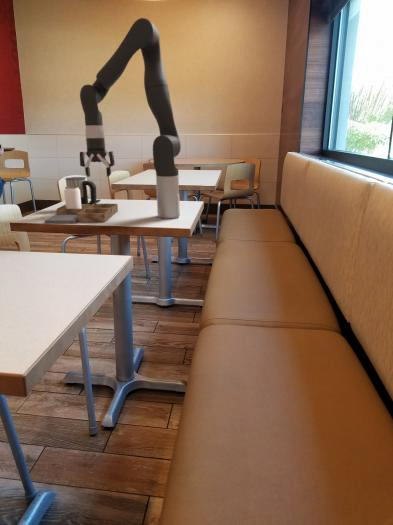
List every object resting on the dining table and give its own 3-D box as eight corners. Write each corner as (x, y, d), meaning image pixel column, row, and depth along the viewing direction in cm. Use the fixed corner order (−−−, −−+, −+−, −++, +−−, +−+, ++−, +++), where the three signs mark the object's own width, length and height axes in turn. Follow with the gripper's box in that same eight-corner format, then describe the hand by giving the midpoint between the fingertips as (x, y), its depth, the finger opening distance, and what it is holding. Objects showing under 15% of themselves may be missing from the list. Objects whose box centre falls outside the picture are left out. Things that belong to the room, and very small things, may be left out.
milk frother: (66, 212, 185) (63, 179, 181) (72, 206, 200) (69, 175, 195) (98, 211, 187) (95, 178, 182) (101, 205, 202) (99, 174, 197)
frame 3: (118, 211, 186) (117, 203, 185) (112, 216, 175) (111, 208, 174) (93, 211, 186) (93, 203, 185) (86, 216, 175) (85, 208, 174)
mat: (83, 217, 173) (83, 214, 173) (74, 223, 162) (74, 220, 161) (56, 217, 174) (55, 214, 173) (44, 223, 162) (44, 220, 162)
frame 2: (111, 216, 174) (111, 208, 173) (105, 222, 164) (104, 213, 163) (85, 216, 175) (85, 208, 174) (77, 222, 164) (76, 213, 163)
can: (77, 216, 176) (75, 188, 172) (64, 215, 177) (61, 187, 173) (84, 213, 182) (82, 186, 178) (71, 212, 183) (68, 185, 179)
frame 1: (90, 212, 184) (90, 204, 183) (83, 217, 174) (82, 208, 173) (66, 212, 185) (65, 204, 184) (57, 217, 174) (56, 208, 173)
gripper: (114, 136, 173) (116, 175, 178) (81, 137, 174) (84, 175, 179) (109, 137, 166) (112, 177, 171) (75, 137, 167) (79, 177, 172)
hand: (98, 176), depth 175 cm, fingers open, 8 cm apart
